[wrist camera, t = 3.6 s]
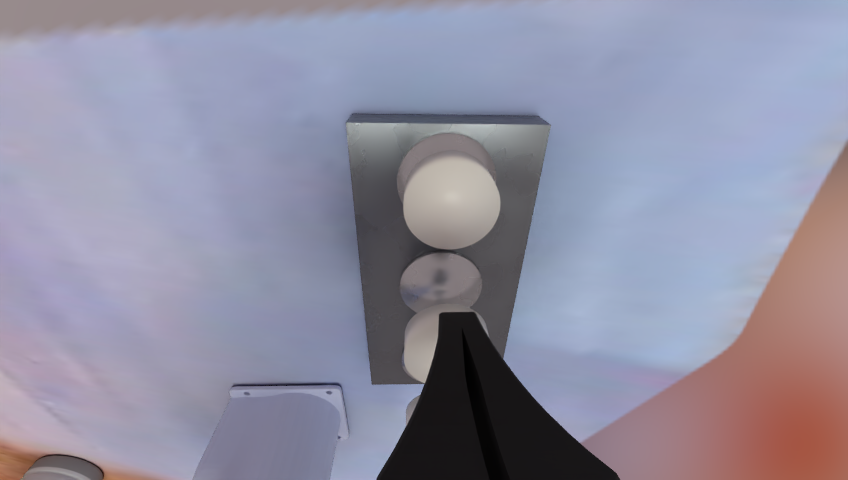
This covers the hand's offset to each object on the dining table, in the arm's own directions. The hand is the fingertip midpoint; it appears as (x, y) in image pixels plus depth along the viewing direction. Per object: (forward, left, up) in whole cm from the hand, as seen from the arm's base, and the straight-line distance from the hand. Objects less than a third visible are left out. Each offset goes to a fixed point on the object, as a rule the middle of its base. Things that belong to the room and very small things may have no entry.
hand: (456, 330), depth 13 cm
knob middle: (0, -4, -5) cm, 6 cm away
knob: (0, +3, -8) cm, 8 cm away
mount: (0, -4, -10) cm, 11 cm away
